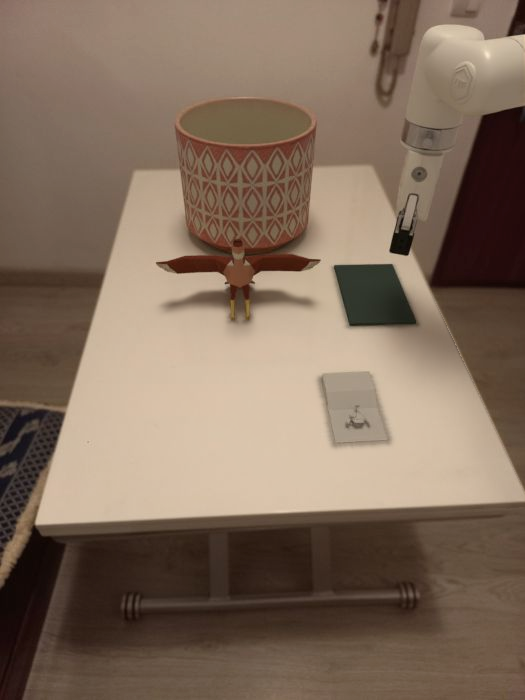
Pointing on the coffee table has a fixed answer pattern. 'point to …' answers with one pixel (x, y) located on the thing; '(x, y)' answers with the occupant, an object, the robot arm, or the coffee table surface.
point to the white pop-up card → (353, 407)
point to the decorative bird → (238, 267)
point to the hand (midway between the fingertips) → (400, 245)
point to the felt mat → (373, 295)
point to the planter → (246, 170)
